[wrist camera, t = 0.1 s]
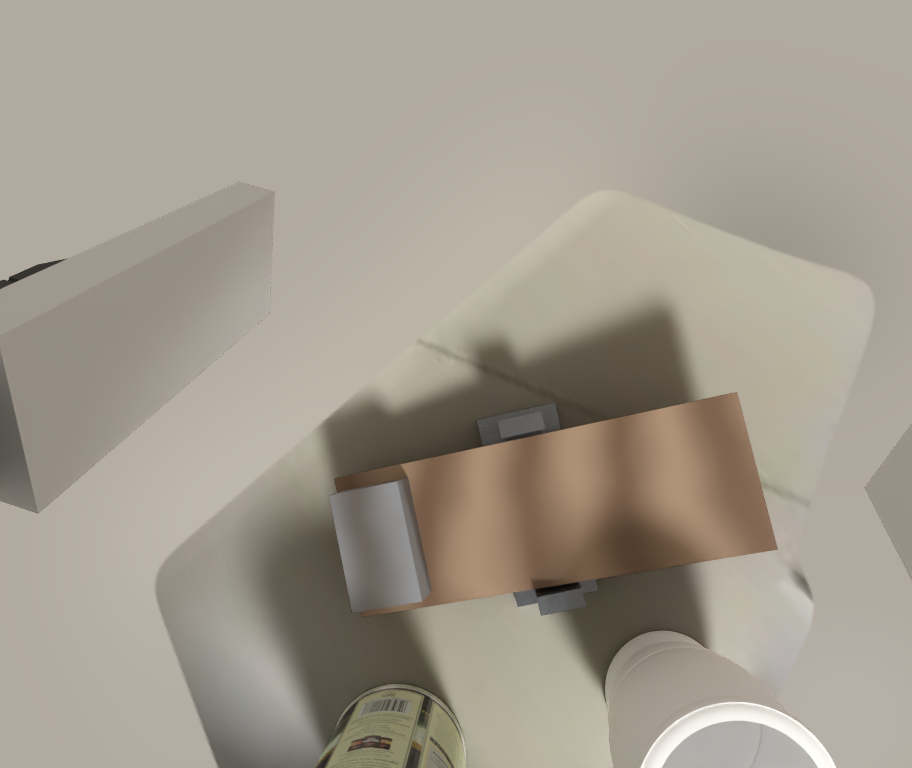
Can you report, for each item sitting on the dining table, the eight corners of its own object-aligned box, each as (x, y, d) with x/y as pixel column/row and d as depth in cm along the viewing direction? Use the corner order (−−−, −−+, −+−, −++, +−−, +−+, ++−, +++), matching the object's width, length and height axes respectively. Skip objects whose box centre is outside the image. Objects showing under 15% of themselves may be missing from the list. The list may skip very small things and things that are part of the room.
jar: (680, 793, 45) (770, 972, 30) (561, 703, 46) (591, 833, 31) (764, 672, 45) (894, 789, 31) (644, 585, 46) (713, 658, 32)
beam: (732, 393, 41) (746, 391, 37) (771, 544, 40) (789, 558, 37) (342, 476, 47) (319, 482, 43) (369, 610, 46) (348, 629, 42)
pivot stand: (553, 403, 48) (561, 399, 42) (596, 586, 47) (610, 609, 41) (477, 420, 48) (474, 418, 42) (517, 603, 47) (520, 628, 41)
